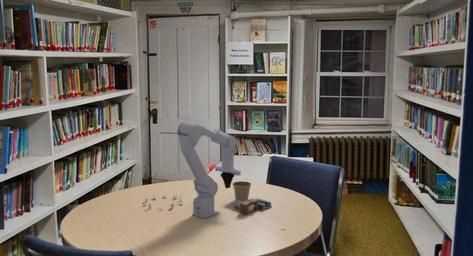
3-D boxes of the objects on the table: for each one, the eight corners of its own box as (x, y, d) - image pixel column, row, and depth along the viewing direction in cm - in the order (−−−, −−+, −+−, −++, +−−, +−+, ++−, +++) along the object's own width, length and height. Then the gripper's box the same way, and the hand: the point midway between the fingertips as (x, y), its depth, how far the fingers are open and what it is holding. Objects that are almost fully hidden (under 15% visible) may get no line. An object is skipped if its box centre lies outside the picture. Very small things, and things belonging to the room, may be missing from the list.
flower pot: (251, 203, 213) (251, 186, 212) (232, 203, 213) (232, 186, 212) (251, 197, 222) (251, 181, 221) (232, 197, 223) (232, 181, 221)
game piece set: (188, 208, 208) (188, 200, 207) (146, 213, 201) (145, 205, 200) (178, 196, 226) (177, 189, 225) (139, 200, 218) (138, 193, 218)
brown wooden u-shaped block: (245, 215, 197) (245, 204, 196) (239, 213, 199) (239, 203, 198) (258, 210, 204) (258, 199, 203) (252, 208, 206) (252, 198, 205)
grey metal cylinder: (254, 213, 202) (256, 204, 202) (249, 212, 199) (251, 203, 199) (238, 208, 208) (239, 200, 209) (232, 207, 205) (234, 199, 206)
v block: (262, 210, 203) (262, 205, 203) (249, 206, 208) (249, 201, 208) (271, 206, 208) (271, 201, 208) (258, 203, 213) (258, 198, 213)
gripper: (244, 160, 205) (244, 188, 207) (222, 156, 214) (222, 183, 216) (234, 163, 200) (234, 192, 202) (212, 158, 209) (212, 186, 211)
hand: (227, 187), depth 209 cm, fingers closed
